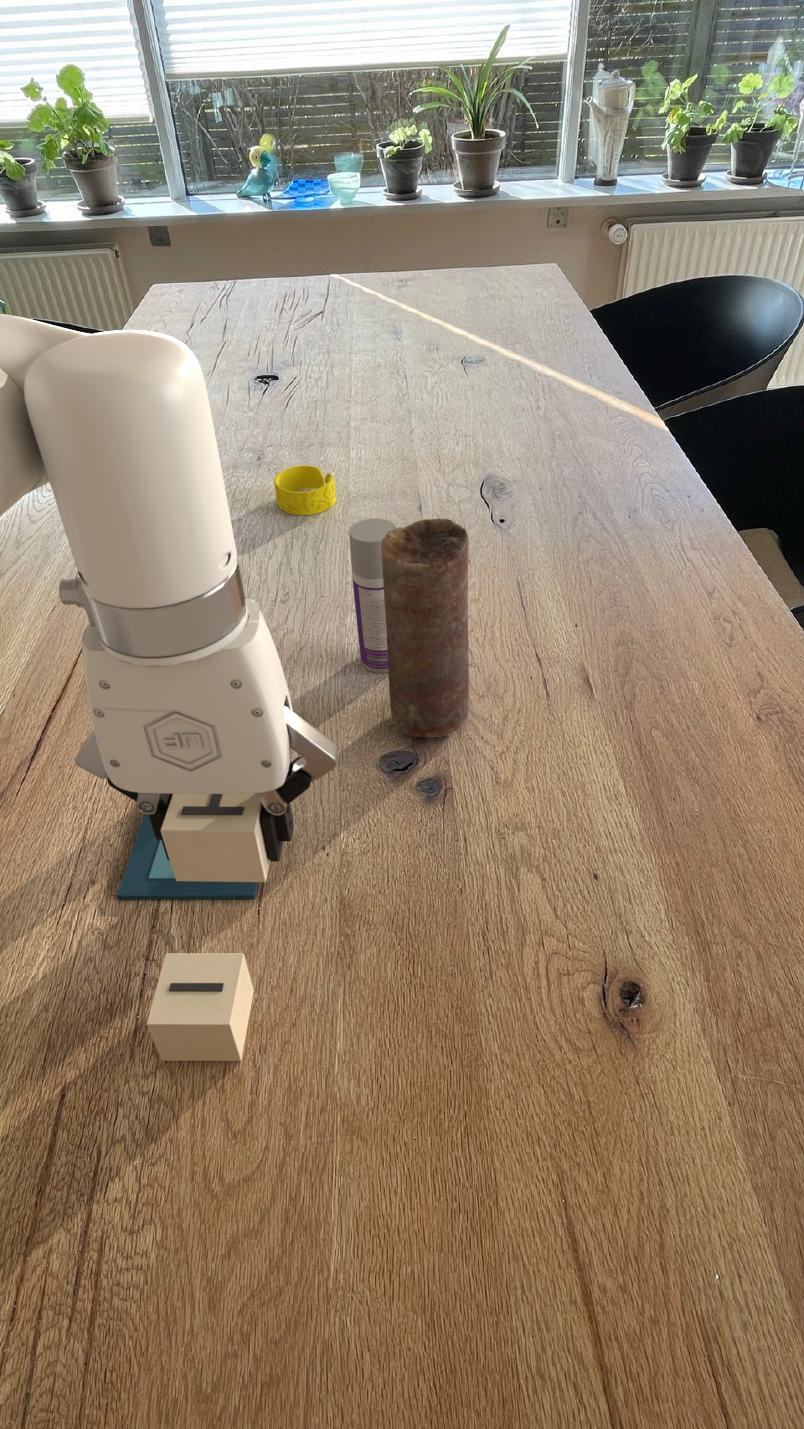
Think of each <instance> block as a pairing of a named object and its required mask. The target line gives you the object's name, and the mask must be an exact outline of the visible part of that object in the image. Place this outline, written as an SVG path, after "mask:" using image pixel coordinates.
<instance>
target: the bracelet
mask: <svg viewBox="0 0 804 1429" xmlns="http://www.w3.org/2000/svg"><path fill="white" fill-rule="evenodd" d="M273 483H274V489H275V492H274V493H275V498H276V501H277V507H278V509H280V510H282V511H283V512H285V513H287V514H290V515H294V516H311V515H316V514H317V515H318V514H320V513H323V512H326V511H328V510H329V509H331V508H332V507H333V506H334V505H335V504H336V502H337V498H336V485H335V484H336V483H335V480H334V474H333V473H331V472H328V473H326V474H325V476H324V474H323V472H322V470H321V468H319V467H318V466H315V465H310V464H309V465H308V464H300V465H294V466H291V467H288V468H286V469H283V470H281V471H279V472H278V473H277V474H276V475H275V476H274V479H273ZM306 489H307V490H306ZM308 489H311V490H308ZM299 490H304V491H299ZM305 490H306V491H305Z"/></svg>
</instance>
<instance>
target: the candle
mask: <svg viewBox="0 0 804 1429" xmlns="http://www.w3.org/2000/svg"><path fill="white" fill-rule="evenodd" d="M381 552H382V567H383V585H384V603H385V616H386V629H387V652H388V671H389V672H388V690H389V692H388V693H389V706H390V707H389V708H390V716H391V718H392V721H393V723H394V724H395V725H396V728H397V729H398V730H399V731H400V732H401V733H403V734H404V735H408V736H410V737H414V738H421V737H422V738H439V737H447V736H449V735H452V733H454V732H455V731H457V730H458V729H459V728H461V727H462V726H464V725H465V724H466V723H467V719H468V717H469V712H470V711H469V707H470V706H469V703H470V672H469V671H470V670H469V665H470V664H469V663H470V662H469V536H468V533H467V530H466V528H464V527H463V526H462V525H461V524H458V523H456V522H455V521H453V520H452V519H449V518H439V517H438V518H432V519H430V518H429V519H428V518H424V519H420V520H415V521H413V522H411V523H410V524H407V526H405V527H400V526H399V527H396V528H394V529H393V530H391V531H389V532H388V533H387V534H386V536H385V537H384V538H383V540H382V546H381Z"/></svg>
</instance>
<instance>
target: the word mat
mask: <svg viewBox="0 0 804 1429" xmlns="http://www.w3.org/2000/svg"><path fill="white" fill-rule="evenodd" d="M258 884H259V882H204V881H176V879H175V876H174V873H173V869H172V866H171V863H170V861H168V860H167V857H166V853H165V850H164V847H163V844H162V841H161V840H156V837H155V834H154V831H153V828H152V825H151V821H150V818H149V815H146V814H143V817H142V818H141V823H140V825H139V828H138V831H137V834H136V837H135V840H134V843H133V846H132V849H131V852H130V855H129V858H128V860H127V864H126V866H125V869H124V873H123V876H122V879H121V882H120V884H119V888H118V889H117V890H118V891H117V894H116V898H117V900H118V901H128V900H129V901H131V900H132V901H133V900H136V901H137V900H138V901H139V900H144V901H147V900H150V901H152V900H155V901H156V900H255V899H256V895H257V890H258Z"/></svg>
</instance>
